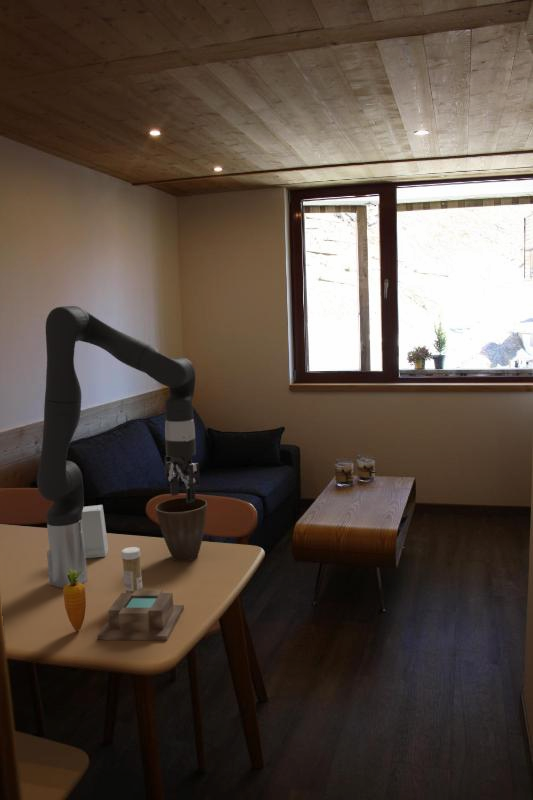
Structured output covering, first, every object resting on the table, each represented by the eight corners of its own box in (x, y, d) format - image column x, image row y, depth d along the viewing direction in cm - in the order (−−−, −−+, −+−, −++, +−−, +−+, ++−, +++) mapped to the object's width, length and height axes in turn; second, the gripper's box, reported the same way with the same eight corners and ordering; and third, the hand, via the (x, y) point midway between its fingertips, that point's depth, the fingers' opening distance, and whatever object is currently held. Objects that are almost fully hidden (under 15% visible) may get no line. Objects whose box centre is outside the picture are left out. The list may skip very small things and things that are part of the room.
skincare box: (108, 550, 215) (104, 504, 213) (105, 557, 209) (101, 509, 207) (80, 552, 214) (76, 505, 212) (76, 559, 208) (72, 511, 206)
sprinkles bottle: (146, 600, 177) (142, 549, 175) (129, 605, 174) (125, 554, 172) (139, 594, 180) (135, 544, 179) (122, 599, 178) (118, 549, 176)
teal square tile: (125, 613, 161) (124, 609, 161) (132, 602, 167) (132, 598, 166) (150, 613, 160) (150, 609, 160) (157, 602, 166) (157, 598, 166)
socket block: (97, 639, 157) (95, 616, 156) (120, 608, 173) (118, 587, 172) (167, 640, 155) (165, 617, 154) (183, 608, 171) (182, 587, 170)
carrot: (68, 627, 164) (63, 566, 162) (90, 625, 164) (84, 564, 162) (64, 637, 159) (58, 574, 157) (86, 635, 159) (81, 572, 157)
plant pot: (190, 569, 196) (187, 514, 194) (149, 562, 203) (144, 509, 201) (219, 551, 209) (216, 500, 207) (179, 545, 216) (176, 495, 214)
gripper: (154, 434, 181) (157, 495, 184) (180, 443, 170) (183, 507, 172) (179, 431, 185) (182, 490, 188) (207, 439, 174) (209, 502, 176)
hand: (182, 498), depth 180 cm, fingers open, 8 cm apart
